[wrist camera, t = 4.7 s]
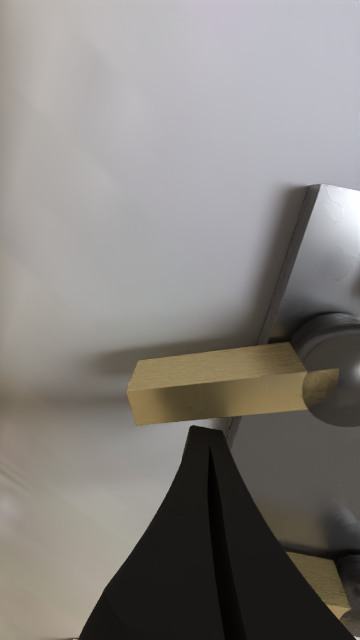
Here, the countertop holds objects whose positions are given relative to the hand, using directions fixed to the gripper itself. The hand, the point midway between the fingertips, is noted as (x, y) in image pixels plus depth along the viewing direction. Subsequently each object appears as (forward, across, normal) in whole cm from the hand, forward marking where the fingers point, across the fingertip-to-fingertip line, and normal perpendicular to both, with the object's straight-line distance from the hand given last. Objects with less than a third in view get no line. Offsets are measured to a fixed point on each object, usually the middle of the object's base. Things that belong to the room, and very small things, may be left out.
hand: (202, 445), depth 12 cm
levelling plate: (+3, -9, +1) cm, 10 cm away
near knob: (+2, -1, -3) cm, 4 cm away
